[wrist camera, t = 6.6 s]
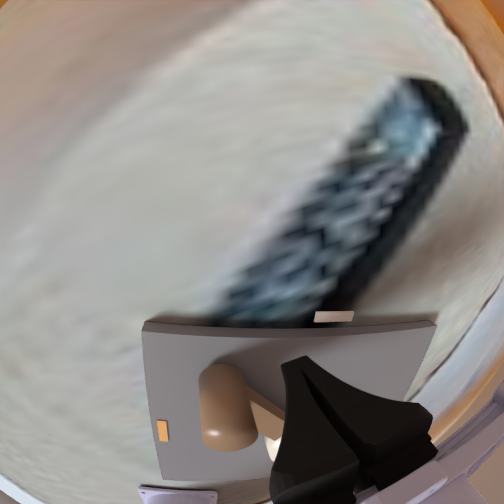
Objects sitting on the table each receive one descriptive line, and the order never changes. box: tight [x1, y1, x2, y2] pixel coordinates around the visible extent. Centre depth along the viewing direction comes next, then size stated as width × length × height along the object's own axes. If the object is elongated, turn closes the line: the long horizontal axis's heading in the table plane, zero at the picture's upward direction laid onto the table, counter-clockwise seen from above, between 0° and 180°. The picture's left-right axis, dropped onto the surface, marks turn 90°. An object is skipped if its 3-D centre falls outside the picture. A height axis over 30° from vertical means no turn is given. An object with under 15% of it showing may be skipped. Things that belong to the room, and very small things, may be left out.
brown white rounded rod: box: [198, 364, 285, 462], centre depth 13 cm, size 12×5×4 cm, turn 39°
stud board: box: [142, 311, 437, 481], centre depth 17 cm, size 18×20×1 cm
